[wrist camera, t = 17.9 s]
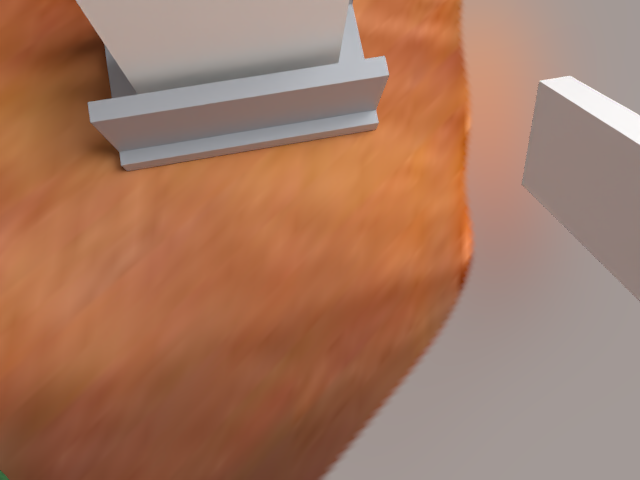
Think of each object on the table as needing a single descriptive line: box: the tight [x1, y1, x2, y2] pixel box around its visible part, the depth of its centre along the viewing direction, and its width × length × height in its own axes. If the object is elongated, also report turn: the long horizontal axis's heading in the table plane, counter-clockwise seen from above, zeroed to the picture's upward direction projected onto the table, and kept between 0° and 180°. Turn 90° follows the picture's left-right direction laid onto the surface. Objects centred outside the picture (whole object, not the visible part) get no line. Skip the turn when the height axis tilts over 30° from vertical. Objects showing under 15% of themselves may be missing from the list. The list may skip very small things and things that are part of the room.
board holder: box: [88, 0, 389, 171], centre depth 27 cm, size 14×9×5 cm, turn 101°
